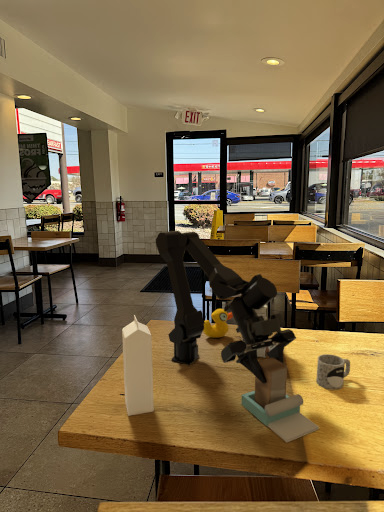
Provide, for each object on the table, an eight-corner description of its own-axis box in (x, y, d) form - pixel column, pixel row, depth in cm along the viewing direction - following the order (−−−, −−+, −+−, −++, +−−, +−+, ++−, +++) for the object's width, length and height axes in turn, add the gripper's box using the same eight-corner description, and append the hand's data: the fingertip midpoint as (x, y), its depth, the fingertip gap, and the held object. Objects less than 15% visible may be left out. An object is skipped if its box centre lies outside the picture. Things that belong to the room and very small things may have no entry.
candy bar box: (251, 342, 124) (252, 295, 121) (266, 343, 123) (268, 296, 120) (249, 357, 113) (251, 305, 110) (266, 358, 112) (268, 306, 109)
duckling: (230, 332, 133) (230, 305, 131) (236, 337, 128) (236, 310, 126) (200, 335, 130) (200, 308, 128) (205, 341, 125) (205, 313, 123)
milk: (128, 416, 84) (123, 324, 80) (125, 401, 90) (120, 315, 86) (154, 411, 86) (151, 321, 82) (149, 397, 91) (146, 312, 87)
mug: (329, 392, 93) (330, 367, 92) (311, 380, 99) (312, 357, 98) (358, 383, 97) (360, 360, 96) (339, 372, 103) (340, 350, 102)
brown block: (254, 401, 87) (255, 361, 85) (271, 395, 89) (272, 357, 88) (268, 412, 83) (270, 371, 81) (285, 406, 85) (287, 366, 83)
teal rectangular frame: (241, 404, 88) (241, 385, 87) (272, 394, 93) (273, 376, 92) (285, 443, 75) (286, 421, 74) (319, 428, 79) (321, 408, 78)
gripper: (228, 309, 81) (258, 378, 73) (292, 297, 90) (325, 358, 82) (209, 331, 89) (234, 394, 82) (270, 318, 98) (298, 375, 90)
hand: (274, 380), depth 84 cm, fingers closed on brown block, 5 cm apart
